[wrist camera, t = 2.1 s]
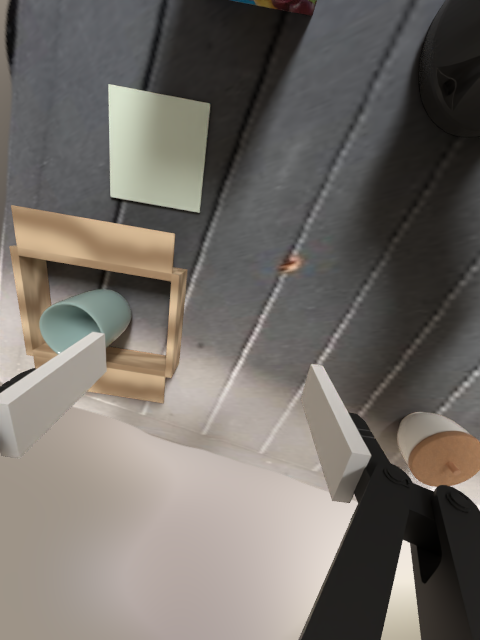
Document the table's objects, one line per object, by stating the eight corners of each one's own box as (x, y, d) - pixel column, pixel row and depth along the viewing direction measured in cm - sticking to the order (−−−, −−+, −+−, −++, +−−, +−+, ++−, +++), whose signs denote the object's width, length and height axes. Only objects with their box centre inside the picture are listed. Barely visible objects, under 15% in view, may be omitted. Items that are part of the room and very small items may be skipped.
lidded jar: (384, 449, 47) (414, 499, 38) (388, 403, 44) (423, 448, 35) (443, 445, 46) (488, 495, 38) (452, 398, 43) (504, 442, 34)
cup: (120, 275, 37) (77, 291, 28) (147, 320, 40) (116, 348, 30) (79, 295, 38) (24, 317, 29) (107, 337, 41) (65, 370, 31)
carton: (33, 206, 34) (2, 203, 30) (190, 234, 35) (182, 235, 30) (52, 367, 43) (31, 382, 39) (176, 387, 44) (169, 404, 40)
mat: (110, 86, 29) (108, 84, 29) (210, 105, 30) (210, 103, 29) (112, 197, 33) (110, 196, 33) (199, 212, 34) (199, 212, 33)
